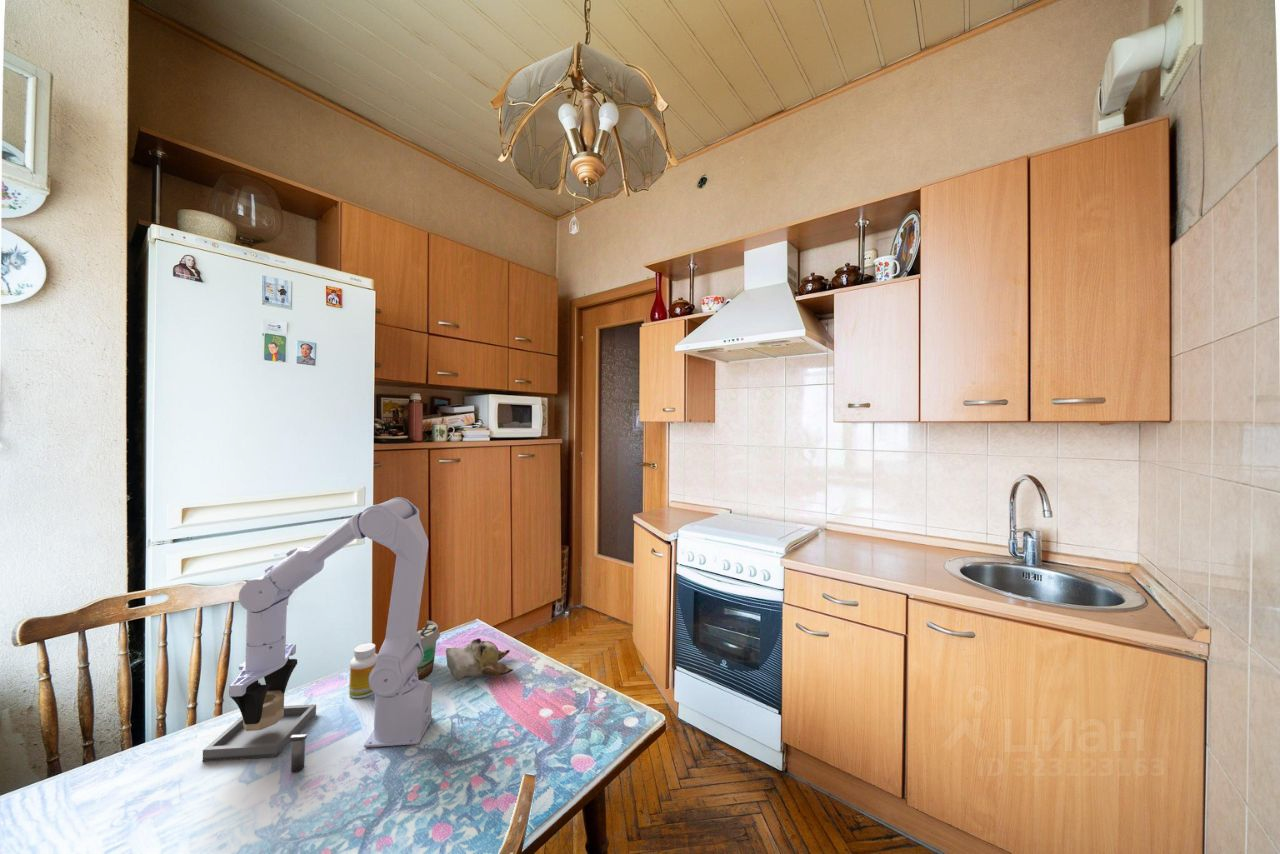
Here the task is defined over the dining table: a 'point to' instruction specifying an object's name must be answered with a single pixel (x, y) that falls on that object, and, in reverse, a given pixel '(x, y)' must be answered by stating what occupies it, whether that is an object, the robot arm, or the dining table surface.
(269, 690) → the robot arm
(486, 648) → the ceramic sculpture
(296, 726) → the tray
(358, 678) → the supplement bottle
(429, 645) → the food container
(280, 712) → the ring
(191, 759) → the dining table surface
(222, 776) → the dining table surface
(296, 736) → the stake
